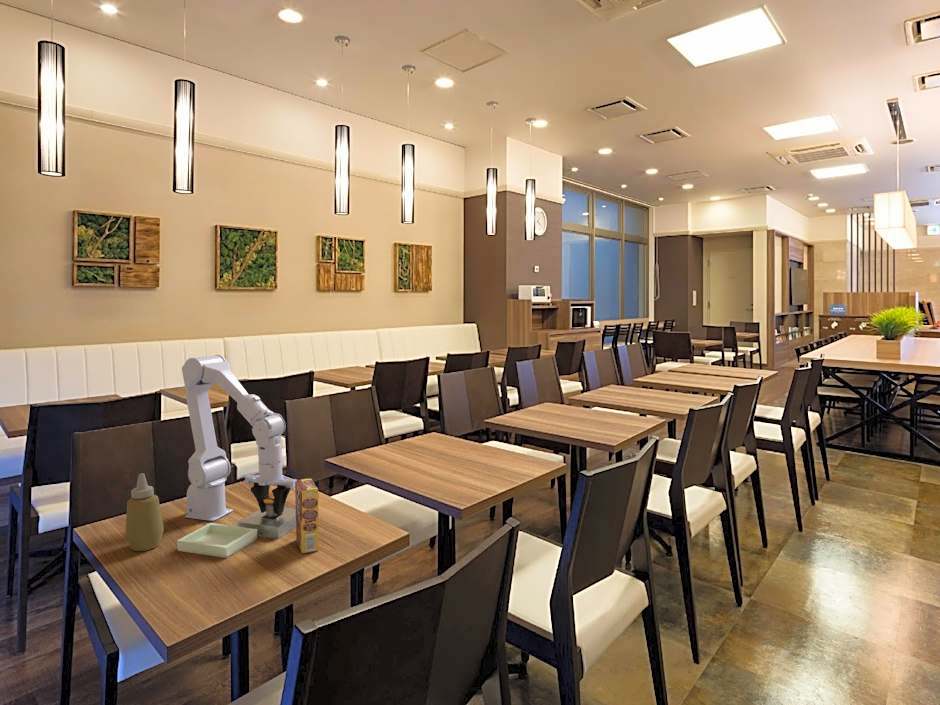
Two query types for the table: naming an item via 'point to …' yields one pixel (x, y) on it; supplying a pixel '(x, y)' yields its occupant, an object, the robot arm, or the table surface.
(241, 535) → the tray
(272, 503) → the copper-topped gray cylinder
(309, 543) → the candy box
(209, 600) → the table surface
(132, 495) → the squeeze bottle
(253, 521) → the block
